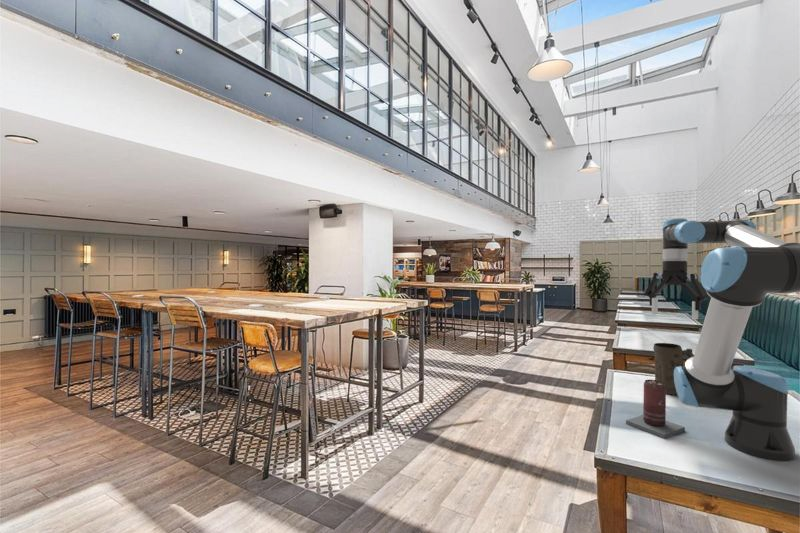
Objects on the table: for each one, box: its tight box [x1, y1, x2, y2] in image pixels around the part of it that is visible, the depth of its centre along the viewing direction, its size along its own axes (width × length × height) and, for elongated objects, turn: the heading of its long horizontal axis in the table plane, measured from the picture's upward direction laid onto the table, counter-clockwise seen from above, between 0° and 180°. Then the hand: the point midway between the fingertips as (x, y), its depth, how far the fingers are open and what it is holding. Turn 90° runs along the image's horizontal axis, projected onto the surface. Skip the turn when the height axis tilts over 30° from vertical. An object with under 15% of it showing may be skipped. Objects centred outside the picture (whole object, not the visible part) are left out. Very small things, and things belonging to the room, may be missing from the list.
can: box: [642, 379, 667, 427], centre depth 125 cm, size 6×6×14 cm
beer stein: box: [653, 342, 694, 396], centre depth 159 cm, size 15×11×20 cm
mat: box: [625, 414, 686, 439], centre depth 125 cm, size 12×12×1 cm
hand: (673, 316), depth 140 cm, fingers open, 13 cm apart
